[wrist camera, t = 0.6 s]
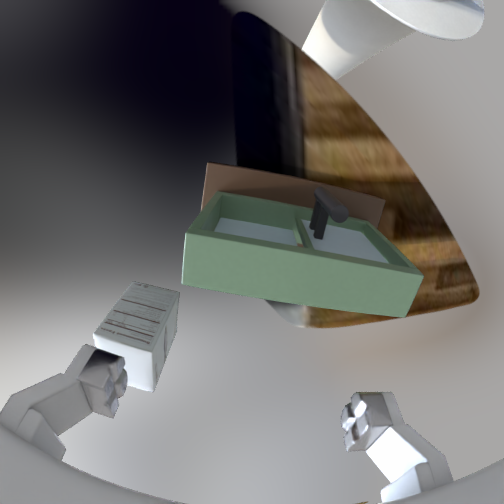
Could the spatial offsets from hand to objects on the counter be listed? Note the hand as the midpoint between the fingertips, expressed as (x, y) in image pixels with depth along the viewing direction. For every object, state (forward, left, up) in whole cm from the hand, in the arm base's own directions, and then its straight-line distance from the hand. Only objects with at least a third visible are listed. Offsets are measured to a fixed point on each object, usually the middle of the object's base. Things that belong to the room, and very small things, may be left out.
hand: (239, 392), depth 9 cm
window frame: (+1, +4, -26) cm, 27 cm away
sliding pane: (-2, +8, -24) cm, 25 cm away
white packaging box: (+17, -12, -27) cm, 34 cm away
